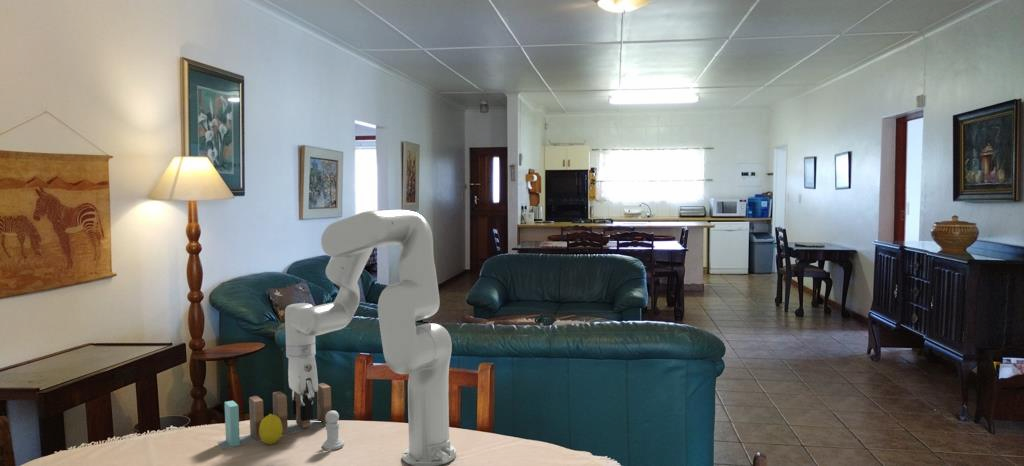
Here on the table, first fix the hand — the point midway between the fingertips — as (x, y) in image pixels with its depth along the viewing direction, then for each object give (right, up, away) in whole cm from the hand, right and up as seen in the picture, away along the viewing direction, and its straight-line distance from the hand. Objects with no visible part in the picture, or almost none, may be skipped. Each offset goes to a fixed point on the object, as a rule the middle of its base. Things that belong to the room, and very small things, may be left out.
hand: (302, 415), depth 173 cm
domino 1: (-9, -3, -7) cm, 12 cm away
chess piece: (+12, -4, -13) cm, 18 cm away
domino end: (-14, -4, -11) cm, 18 cm away
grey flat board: (-5, -3, -4) cm, 8 cm away
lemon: (-4, -4, -12) cm, 13 cm away
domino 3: (0, -2, 0) cm, 2 cm away
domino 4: (+5, -3, +4) cm, 7 cm away
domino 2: (-5, -3, -4) cm, 7 cm away
